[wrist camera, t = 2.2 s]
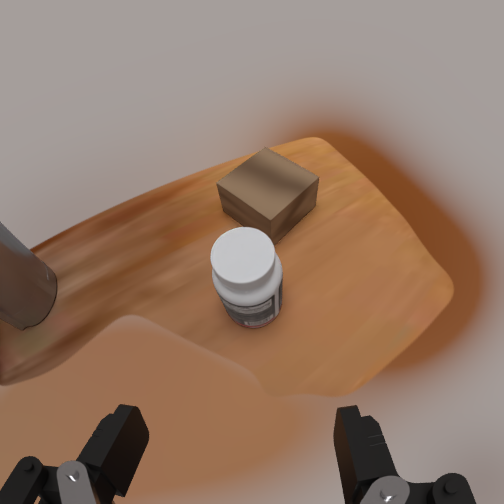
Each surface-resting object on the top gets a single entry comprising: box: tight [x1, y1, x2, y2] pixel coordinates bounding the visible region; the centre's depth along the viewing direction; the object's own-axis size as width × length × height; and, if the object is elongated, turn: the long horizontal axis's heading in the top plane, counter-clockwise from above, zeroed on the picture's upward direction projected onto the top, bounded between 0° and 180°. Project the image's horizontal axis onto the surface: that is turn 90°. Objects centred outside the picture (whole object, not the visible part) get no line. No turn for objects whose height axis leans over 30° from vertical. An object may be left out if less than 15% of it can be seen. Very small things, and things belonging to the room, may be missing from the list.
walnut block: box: [216, 147, 319, 245], centre depth 33 cm, size 8×8×5 cm
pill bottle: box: [211, 227, 283, 328], centre depth 25 cm, size 6×6×10 cm
